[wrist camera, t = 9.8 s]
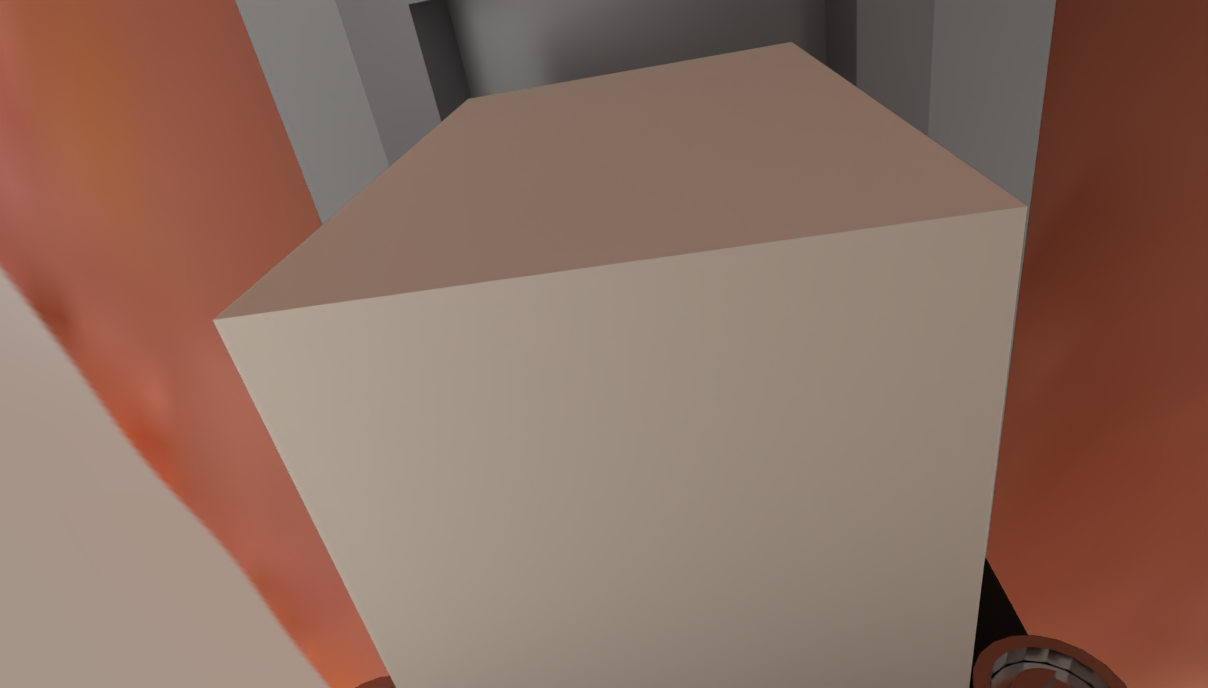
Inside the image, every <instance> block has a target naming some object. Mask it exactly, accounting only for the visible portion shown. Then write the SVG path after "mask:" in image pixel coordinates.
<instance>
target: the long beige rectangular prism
mask: <svg viewBox="0 0 1208 688" xmlns="http://www.w3.org/2000/svg"><path fill="white" fill-rule="evenodd" d="M1027 207H1028V206H1027V205H1025V204H1024V203H1022V202H1021V201H1019V200H1018V199H1016V198H1015V197H1014V196H1012V195H1011V194H1009V193H1008V192H1006V191H1005V190H1004V189H1002V188H1001V187H999V186H998V185H996V184H995V183H993V182H992V181H991V180H989V179H988V178H986V177H985V176H983V175H982V174H981V173H979V172H978V171H976V170H975V169H973V168H972V167H971V166H969V165H968V164H966V163H965V162H963V161H962V160H960V159H959V158H958V157H956V156H955V155H953V154H952V153H950V152H949V151H948V150H946V149H945V148H943V147H942V146H940V145H939V144H938V143H936V142H935V141H933V140H932V139H930V138H929V137H927V136H926V135H925V134H923V133H922V132H920V131H919V130H917V129H916V128H915V127H913V126H912V125H910V124H909V123H907V122H906V121H905V120H903V119H902V118H900V117H899V116H897V115H896V114H894V113H893V112H892V111H890V110H889V109H887V108H886V107H884V106H883V105H882V104H880V103H879V102H877V101H876V100H874V99H873V98H871V97H870V96H869V95H867V94H866V93H864V92H863V91H861V90H860V89H859V88H857V87H856V86H854V85H853V84H851V83H850V82H849V81H847V80H846V79H844V78H843V77H841V76H840V75H838V74H837V73H836V72H834V71H833V70H831V69H830V68H828V67H827V66H826V65H824V64H823V63H821V62H820V61H818V60H817V59H816V58H814V57H813V56H811V55H810V54H808V53H807V52H805V51H804V50H803V49H801V48H800V47H798V46H797V45H795V44H794V43H793V42H788V43H783V44H777V45H771V46H766V47H760V48H754V49H749V50H743V51H737V52H732V53H726V54H720V55H714V56H709V57H703V58H697V59H692V60H686V61H680V62H675V63H669V64H663V65H658V66H652V67H646V68H641V69H635V70H629V71H624V72H618V73H612V74H606V75H601V76H595V77H589V78H584V79H578V80H572V81H567V82H561V83H555V84H550V85H544V86H538V87H533V88H527V89H521V90H516V91H510V92H504V93H499V94H493V95H487V96H481V97H476V98H470V99H467V100H466V101H465V102H464V103H463V104H462V105H460V106H459V107H458V108H457V109H456V110H455V111H454V112H452V113H451V114H450V115H449V116H448V117H447V118H445V119H444V120H443V121H442V122H441V123H440V124H439V125H437V126H436V127H435V128H434V129H433V130H432V131H430V132H429V133H428V134H427V135H426V136H425V137H424V138H422V139H421V140H420V141H419V142H418V143H417V144H415V145H414V146H413V147H412V148H411V149H410V150H408V151H407V152H406V153H405V154H404V155H403V156H402V157H400V158H399V159H398V160H397V161H396V162H395V163H393V164H392V165H391V166H390V167H389V168H388V169H387V170H385V171H384V172H383V173H382V174H381V175H380V176H378V177H377V178H376V179H375V180H374V181H373V182H372V183H370V184H369V185H368V186H367V187H366V188H365V189H363V190H362V191H361V192H360V193H359V194H358V195H356V196H355V197H354V198H353V199H352V200H351V201H350V202H348V203H347V204H346V205H345V206H344V207H343V208H341V209H340V210H339V211H338V212H337V213H336V214H335V215H333V216H332V217H331V218H330V219H329V220H328V221H326V222H325V223H324V224H323V225H322V226H321V227H320V228H318V229H317V230H316V231H315V232H314V233H313V234H311V235H310V236H309V237H308V238H307V239H306V240H305V241H303V242H302V243H301V244H300V245H299V246H298V247H296V248H295V249H294V250H293V251H292V252H291V253H289V254H288V255H287V256H286V257H285V258H284V259H283V260H281V261H280V262H279V263H278V264H277V265H276V266H274V267H273V268H272V269H271V270H270V271H269V272H268V273H266V274H265V275H264V276H263V277H262V278H261V279H259V280H258V281H257V282H256V283H255V284H254V285H253V286H251V287H250V288H249V289H248V290H247V291H246V292H244V293H243V294H242V295H241V296H240V297H239V298H237V299H236V300H235V301H234V302H233V303H232V304H231V305H229V306H228V307H227V308H226V309H225V310H224V311H222V312H221V313H220V314H219V315H218V316H217V317H216V318H214V319H213V322H214V324H215V326H216V328H217V330H218V332H219V334H220V336H221V338H222V340H223V342H224V344H225V346H226V348H227V350H228V352H229V354H230V356H231V358H232V360H233V362H234V364H235V366H236V368H237V370H238V372H239V374H240V376H241V378H242V380H243V382H244V384H245V386H246V388H247V390H248V392H249V394H250V396H251V398H252V400H253V402H254V404H255V406H256V408H257V410H258V412H259V414H260V416H261V418H262V420H263V422H264V424H265V426H266V428H267V430H268V432H269V434H270V436H271V438H272V440H273V442H274V444H275V446H276V448H277V450H278V452H279V454H280V456H281V458H282V460H283V462H284V464H285V466H286V468H287V470H288V472H289V474H290V476H291V478H292V480H293V482H294V484H295V486H296V488H297V490H298V492H299V494H300V496H301V498H302V500H303V502H304V504H305V506H306V508H307V510H308V512H309V514H310V516H311V518H312V520H313V522H314V524H315V526H316V528H317V530H318V532H319V534H320V536H321V538H322V540H323V542H324V544H325V546H326V548H327V550H328V552H329V554H330V556H331V558H332V560H333V562H334V564H335V566H336V568H337V570H338V572H339V574H340V576H341V578H342V580H343V582H344V584H345V586H346V588H347V590H348V592H349V594H350V597H351V599H352V601H353V603H354V605H355V607H356V609H357V611H358V613H359V615H360V617H361V619H362V621H363V623H364V625H365V627H366V629H367V631H368V633H369V635H370V637H371V639H372V641H373V643H374V645H375V647H376V649H377V651H378V653H379V655H380V657H381V659H382V661H383V663H384V665H385V667H386V669H387V671H388V673H389V675H390V677H391V679H392V681H393V683H394V685H395V687H396V688H969V685H970V677H971V668H972V660H973V652H974V644H975V635H976V627H977V619H978V611H979V602H980V594H981V586H982V578H983V569H984V561H985V553H986V545H987V536H988V528H989V520H990V512H991V503H992V495H993V487H994V479H995V471H996V462H997V454H998V446H999V438H1000V429H1001V421H1002V413H1003V405H1004V396H1005V388H1006V380H1007V372H1008V363H1009V355H1010V347H1011V339H1012V330H1013V322H1014V314H1015V306H1016V297H1017V289H1018V281H1019V273H1020V264H1021V256H1022V248H1023V240H1024V232H1025V223H1026V215H1027Z"/></svg>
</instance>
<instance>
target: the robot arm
mask: <svg viewBox="0 0 1208 688" xmlns="http://www.w3.org/2000/svg"><path fill="white" fill-rule="evenodd" d="M356 688H396V687H395V685H394V683H393V681H392V679H391V677H390V676H386V677H379V678H376V679H374V680H371V681H368V682H365V683H363V684H361V685H359V686H358V687H356ZM969 688H1127V687H1126V685H1125V683H1124V682H1123V681H1122V680H1121V679H1120V678H1119V677H1118V676H1117V675H1116V674H1115V673H1114V672H1113V671H1112V670H1111V669H1110V668H1109V667H1108V666H1107V665H1105V664H1104V663H1102V662H1101V661H1099V660H1098V659H1096V658H1095V657H1093V656H1092V655H1090V654H1089V653H1087V652H1085V651H1084V650H1082V649H1080V648H1077V647H1075V646H1072V645H1070V644H1067V643H1065V642H1063V641H1060V640H1057V639H1052V638H1047V637H1042V636H1036V635H1028V634H1027V632H1026V630H1025V629H1024V627H1023V625H1022V623H1021V621H1020V619H1019V618H1018V616H1017V614H1016V612H1015V610H1014V608H1013V607H1012V605H1011V603H1010V601H1009V599H1008V597H1007V596H1006V594H1005V592H1004V590H1003V588H1002V587H1001V585H1000V583H999V581H998V579H997V577H996V576H995V574H994V572H993V570H992V568H991V566H990V565H989V563H988V561H987V559H986V557H985V561H984V569H983V578H982V586H981V594H980V602H979V611H978V619H977V627H976V635H975V644H974V652H973V660H972V668H971V677H970V685H969Z"/></svg>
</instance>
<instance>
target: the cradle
mask: <svg viewBox="0 0 1208 688" xmlns="http://www.w3.org/2000/svg"><path fill="white" fill-rule="evenodd" d="M235 1H236V3H237V6H238V9H239V11H240V14H241V16H242V19H243V21H244V24H245V27H246V29H247V32H248V34H249V37H250V39H251V42H252V45H253V47H254V50H255V52H256V55H257V57H258V60H259V63H260V65H261V68H262V70H263V73H264V75H265V78H266V80H267V83H268V86H269V88H270V91H271V93H272V96H273V98H274V101H275V104H276V106H277V109H278V111H279V114H280V116H281V119H282V122H283V124H284V127H285V129H286V132H287V134H288V137H289V140H290V142H291V145H292V147H293V150H294V152H295V155H296V158H297V160H298V163H299V165H300V168H301V170H302V173H303V176H304V178H305V181H306V183H307V186H308V188H309V191H310V194H311V196H312V199H313V201H314V204H315V206H316V209H317V212H318V214H319V217H320V219H321V222H322V224H324V223H325V222H326V221H328V220H329V219H330V218H331V217H332V216H333V215H335V214H336V213H337V212H338V211H339V210H340V209H341V208H343V207H344V206H345V205H346V204H347V203H348V202H350V201H351V200H352V199H353V198H354V197H355V196H356V195H358V194H359V193H360V192H361V191H362V190H363V189H365V188H366V187H367V186H368V185H369V184H370V183H372V182H373V181H374V180H375V179H376V178H377V177H378V176H380V175H381V174H382V173H383V172H384V171H385V170H387V169H388V168H389V167H390V166H391V165H392V164H393V163H395V162H396V161H397V160H398V159H399V158H400V157H402V156H403V155H404V154H405V153H406V152H407V151H408V150H410V149H411V148H412V147H413V146H414V145H415V144H417V143H418V142H419V141H420V140H421V139H422V138H424V137H425V136H426V135H427V134H428V133H429V132H430V131H432V130H433V129H434V128H435V127H436V126H437V125H439V124H440V123H441V122H442V121H443V120H444V119H445V118H447V117H448V116H449V115H450V114H451V113H452V112H454V111H455V110H456V109H457V108H458V107H459V106H460V105H462V104H463V103H464V102H465V101H466V100H467V99H470V98H476V97H481V96H487V95H493V94H499V93H504V92H510V91H516V90H521V89H527V88H533V87H538V86H544V85H550V84H555V83H561V82H567V81H572V80H578V79H584V78H589V77H595V76H601V75H606V74H612V73H618V72H624V71H629V70H635V69H641V68H646V67H652V66H658V65H663V64H669V63H675V62H680V61H686V60H692V59H697V58H703V57H709V56H714V55H720V54H726V53H732V52H737V51H743V50H749V49H754V48H760V47H766V46H771V45H777V44H783V43H788V42H793V43H794V44H795V45H797V46H798V47H800V48H801V49H803V50H804V51H805V52H807V53H808V54H810V55H811V56H813V57H814V58H816V59H817V60H818V61H820V62H821V63H823V64H824V65H826V66H827V67H828V68H830V69H831V70H833V71H834V72H836V73H837V74H838V75H840V76H841V77H843V78H844V79H846V80H847V81H849V82H850V83H851V84H853V85H854V86H856V87H857V88H859V89H860V90H861V91H863V92H864V93H866V94H867V95H869V96H870V97H871V98H873V99H874V100H876V101H877V102H879V103H880V104H882V105H883V106H884V107H886V108H887V109H889V110H890V111H892V112H893V113H894V114H896V115H897V116H899V117H900V118H902V119H903V120H905V121H906V122H907V123H909V124H910V125H912V126H913V127H915V128H916V129H917V130H919V131H920V132H922V133H923V134H925V135H926V136H927V137H929V138H930V139H932V140H933V141H935V142H936V143H938V144H939V145H940V146H942V147H943V148H945V149H946V150H948V151H949V152H950V153H952V154H953V155H955V156H956V157H958V158H959V159H960V160H962V161H963V162H965V163H966V164H968V165H969V166H971V167H972V168H973V169H975V170H976V171H978V172H979V173H981V174H982V175H983V176H985V177H986V178H988V179H989V180H991V181H992V182H993V183H995V184H996V185H998V186H999V187H1001V188H1002V189H1004V190H1005V191H1006V192H1008V193H1009V194H1011V195H1012V196H1014V197H1015V198H1016V199H1018V200H1019V201H1021V202H1022V203H1024V204H1025V205H1027V206H1028V207H1027V215H1026V223H1025V232H1024V240H1023V248H1022V256H1021V264H1020V273H1019V281H1018V289H1017V297H1016V306H1015V314H1014V322H1013V330H1012V339H1011V347H1010V355H1009V363H1008V372H1007V380H1006V388H1005V396H1004V405H1003V413H1002V421H1001V429H1000V438H999V446H998V454H997V462H996V471H997V463H998V455H999V447H1000V439H1001V431H1002V424H1003V416H1004V408H1005V400H1006V392H1007V384H1008V376H1009V368H1010V360H1011V352H1012V345H1013V337H1014V329H1015V321H1016V313H1017V305H1018V297H1019V289H1020V281H1021V274H1022V266H1023V258H1024V250H1025V242H1026V234H1027V226H1028V218H1029V210H1030V203H1031V195H1032V187H1033V179H1034V171H1035V163H1036V155H1037V147H1038V139H1039V131H1040V124H1041V116H1042V108H1043V100H1044V92H1045V84H1046V76H1047V68H1048V60H1049V53H1050V45H1051V37H1052V29H1053V21H1054V13H1055V5H1056V0H235ZM996 471H995V479H996ZM995 479H994V487H995ZM994 487H993V495H994ZM993 495H992V502H993ZM991 510H992V503H991ZM990 518H991V512H990ZM989 526H990V520H989ZM988 534H989V528H988ZM987 542H988V536H987ZM986 550H987V545H986ZM985 557H986V553H985Z"/></svg>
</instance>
